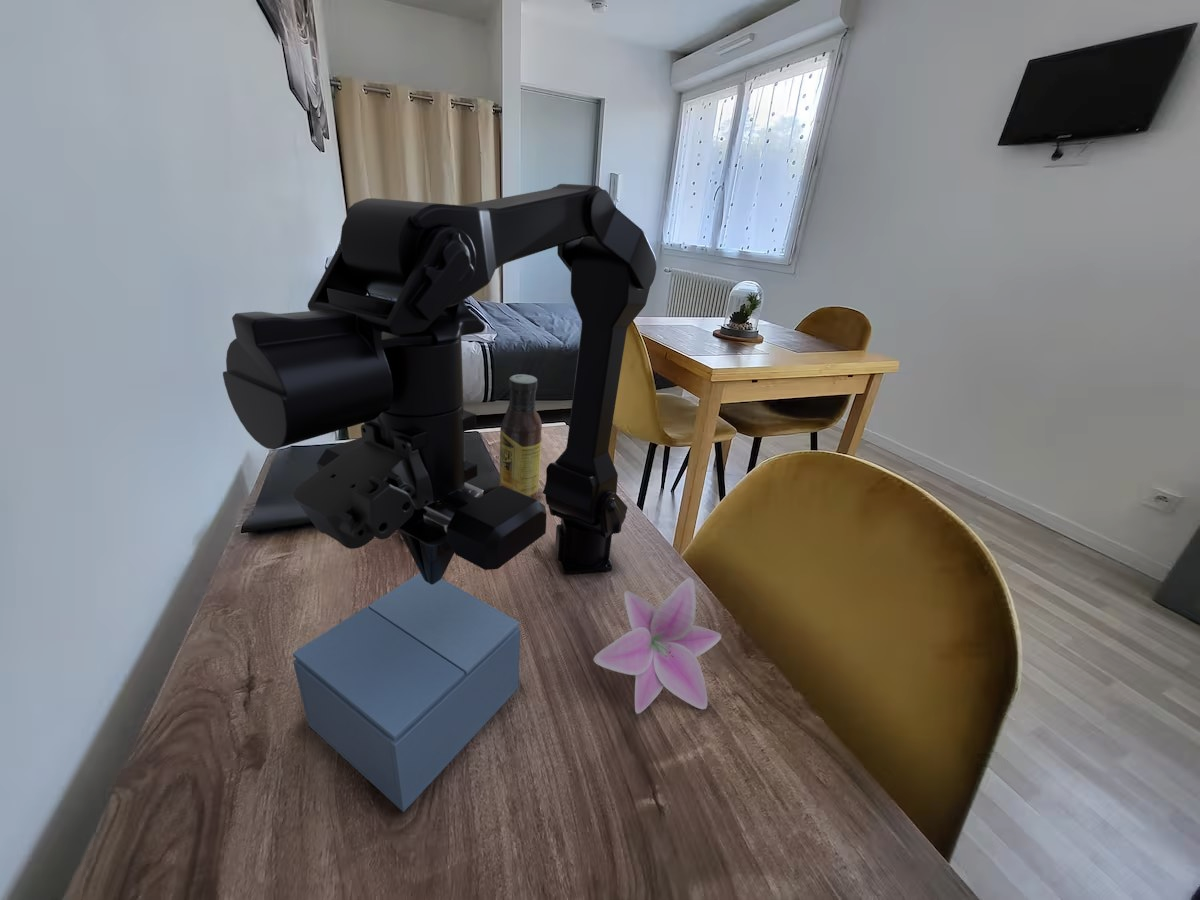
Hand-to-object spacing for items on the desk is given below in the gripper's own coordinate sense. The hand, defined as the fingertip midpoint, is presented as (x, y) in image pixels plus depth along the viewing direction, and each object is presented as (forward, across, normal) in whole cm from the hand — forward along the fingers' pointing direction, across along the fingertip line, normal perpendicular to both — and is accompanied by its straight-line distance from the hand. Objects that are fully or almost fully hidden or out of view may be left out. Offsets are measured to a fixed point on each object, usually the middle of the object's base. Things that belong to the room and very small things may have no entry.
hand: (433, 580), depth 40 cm
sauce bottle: (+13, -17, +32) cm, 38 cm away
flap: (+5, 0, +1) cm, 5 cm away
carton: (+12, 0, -2) cm, 13 cm away
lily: (+13, +16, +12) cm, 24 cm away
